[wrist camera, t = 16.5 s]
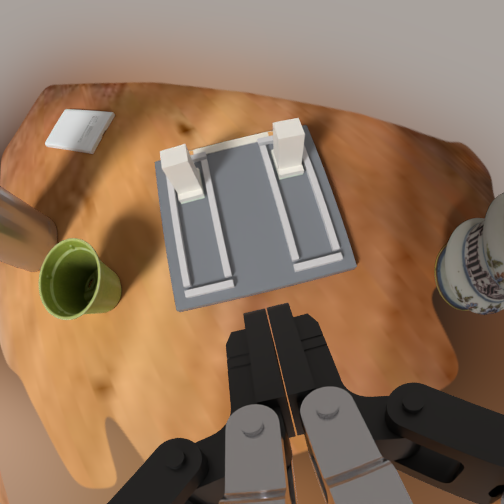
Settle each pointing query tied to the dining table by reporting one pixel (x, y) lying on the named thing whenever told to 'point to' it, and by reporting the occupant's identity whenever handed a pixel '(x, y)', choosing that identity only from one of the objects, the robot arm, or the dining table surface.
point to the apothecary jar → (474, 263)
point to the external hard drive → (79, 130)
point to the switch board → (250, 224)
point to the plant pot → (77, 281)
